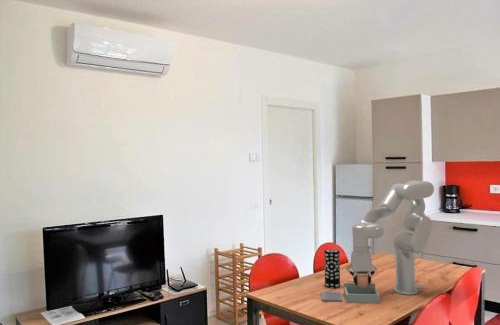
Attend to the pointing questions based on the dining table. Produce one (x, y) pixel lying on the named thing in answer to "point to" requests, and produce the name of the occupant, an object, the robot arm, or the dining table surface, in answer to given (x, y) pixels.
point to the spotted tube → (332, 268)
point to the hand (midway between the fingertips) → (362, 283)
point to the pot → (362, 279)
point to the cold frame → (361, 293)
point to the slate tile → (331, 296)
